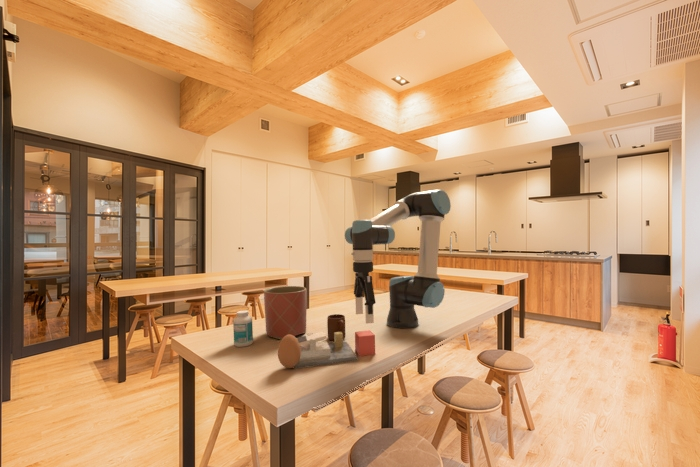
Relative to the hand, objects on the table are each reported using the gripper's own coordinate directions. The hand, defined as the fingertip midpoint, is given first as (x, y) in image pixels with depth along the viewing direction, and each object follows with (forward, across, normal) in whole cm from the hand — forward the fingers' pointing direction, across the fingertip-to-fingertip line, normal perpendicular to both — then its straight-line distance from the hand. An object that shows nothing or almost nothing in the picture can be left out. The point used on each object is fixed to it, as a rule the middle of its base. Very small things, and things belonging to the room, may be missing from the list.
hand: (364, 318), depth 119 cm
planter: (+13, -33, -27) cm, 45 cm away
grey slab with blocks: (+13, -1, -16) cm, 20 cm away
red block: (+13, 0, 0) cm, 13 cm away
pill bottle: (+13, -24, -45) cm, 53 cm away
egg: (+13, +6, -28) cm, 31 cm away
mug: (+13, -17, -7) cm, 22 cm away
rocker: (+5, +1, -20) cm, 21 cm away
